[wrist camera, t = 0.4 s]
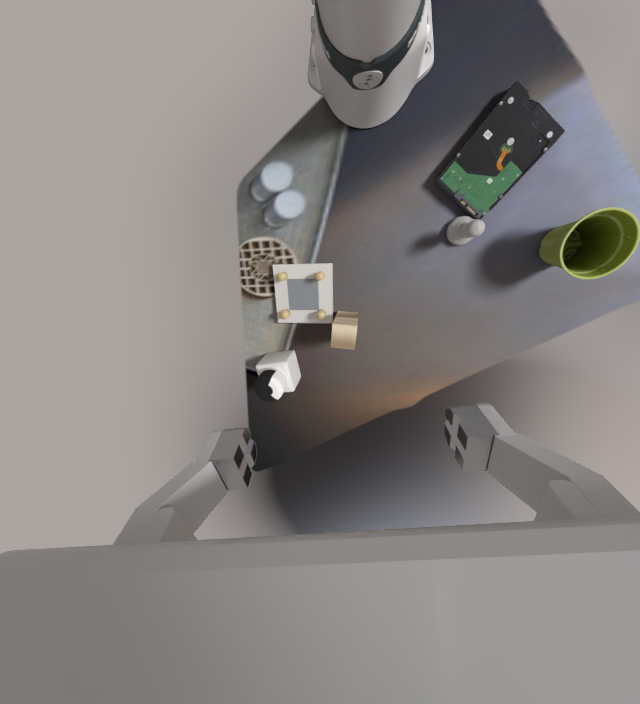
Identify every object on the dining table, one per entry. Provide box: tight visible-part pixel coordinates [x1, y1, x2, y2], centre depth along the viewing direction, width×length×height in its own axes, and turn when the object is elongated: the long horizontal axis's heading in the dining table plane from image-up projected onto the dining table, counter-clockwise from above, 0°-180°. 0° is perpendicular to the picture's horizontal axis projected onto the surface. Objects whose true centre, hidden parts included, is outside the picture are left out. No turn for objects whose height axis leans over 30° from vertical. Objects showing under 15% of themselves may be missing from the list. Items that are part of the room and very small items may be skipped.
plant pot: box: [539, 207, 640, 279], centre depth 41 cm, size 9×9×9 cm
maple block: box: [331, 311, 359, 350], centre depth 51 cm, size 4×4×10 cm
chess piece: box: [447, 216, 485, 245], centre depth 43 cm, size 5×5×8 cm
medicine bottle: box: [254, 350, 301, 402], centre depth 57 cm, size 7×7×12 cm
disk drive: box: [434, 81, 565, 220], centre depth 41 cm, size 10×3×15 cm
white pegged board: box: [273, 263, 333, 323], centre depth 53 cm, size 12×12×4 cm
